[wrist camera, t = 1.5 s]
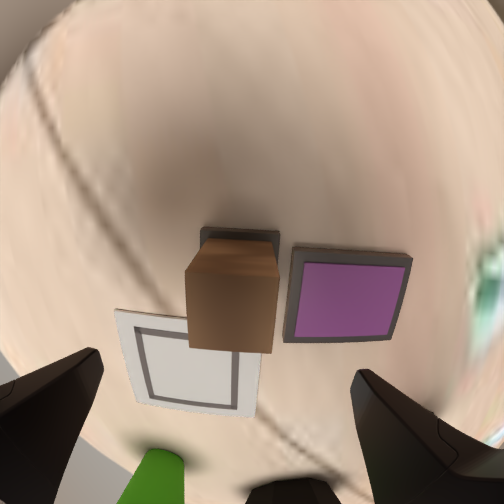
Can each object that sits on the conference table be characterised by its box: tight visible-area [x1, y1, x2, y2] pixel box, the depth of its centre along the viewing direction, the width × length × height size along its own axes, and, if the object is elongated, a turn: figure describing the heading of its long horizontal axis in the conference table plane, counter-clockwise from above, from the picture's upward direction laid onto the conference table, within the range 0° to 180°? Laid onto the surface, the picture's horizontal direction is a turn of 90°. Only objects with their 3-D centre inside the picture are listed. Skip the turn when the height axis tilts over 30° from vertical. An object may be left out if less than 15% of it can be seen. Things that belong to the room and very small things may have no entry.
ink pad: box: [282, 247, 413, 343], centre depth 19 cm, size 9×7×1 cm
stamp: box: [185, 227, 280, 354], centre depth 15 cm, size 5×5×7 cm
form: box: [114, 309, 261, 417], centre depth 21 cm, size 12×11×1 cm
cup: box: [117, 449, 184, 504], centre depth 21 cm, size 9×9×11 cm
